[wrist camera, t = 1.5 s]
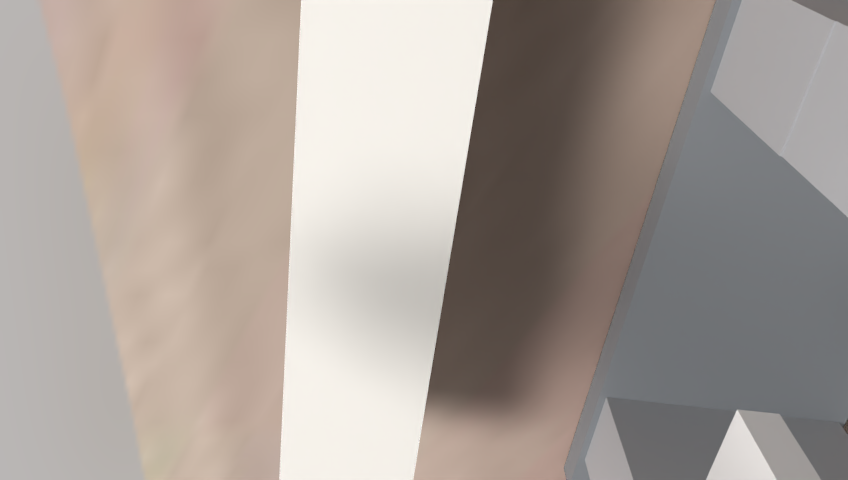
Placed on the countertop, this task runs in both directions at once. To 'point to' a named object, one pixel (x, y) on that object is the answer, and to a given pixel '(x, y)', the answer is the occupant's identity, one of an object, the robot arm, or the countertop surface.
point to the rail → (373, 225)
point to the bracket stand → (736, 259)
